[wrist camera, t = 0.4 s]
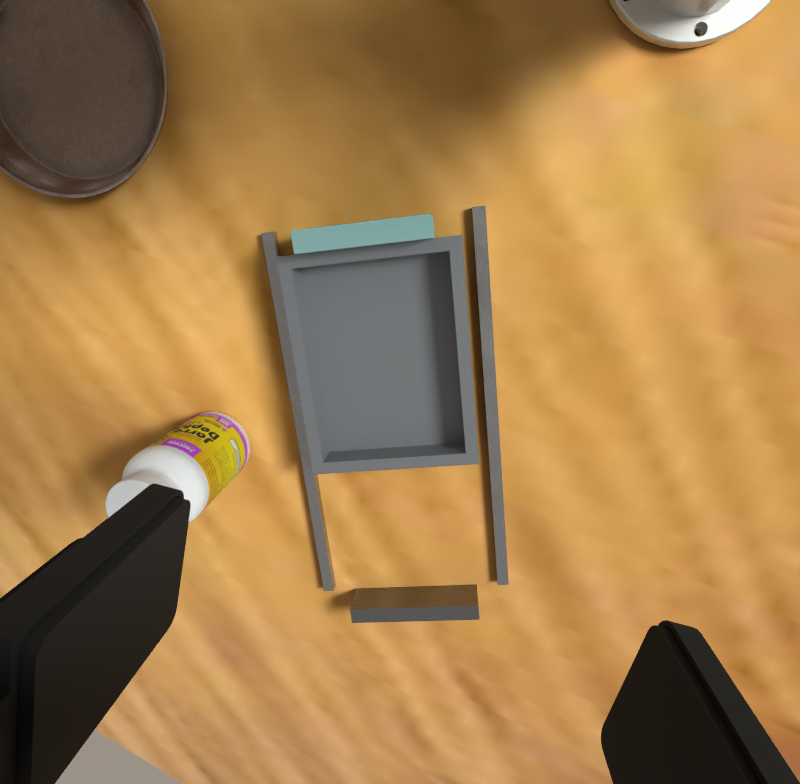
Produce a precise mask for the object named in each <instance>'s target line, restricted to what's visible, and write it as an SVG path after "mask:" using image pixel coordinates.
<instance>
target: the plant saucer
mask: <svg viewBox="0 0 800 784" xmlns="http://www.w3.org/2000/svg"><path fill="white" fill-rule="evenodd" d="M167 95H168V76H167V65H166V59H165V53H164V48H163V44H162V40H161V36H160V33H159V30H158V27H157V24H156V21H155V19H154V16H153V14H152V12H151V10H150V8H149V6H148V4H147V2H146V0H0V169H1V170H2V171H3V172H4V173H5V174H7V175H8V176H10V177H11V178H13V179H14V180H15V181H17V182H19V183H21V184H22V185H24V186H26V187H28V188H30V189H33V190H35V191H38V192H41V193H43V194H47V195H51V196H56V197H64V198H81V197H88V196H93V195H97V194H100V193H103V192H105V191H108V190H110V189H112V188H114V187H116V186H118V185H119V184H121V183H122V182H124V181H125V180H126V179H127V178H129V177H130V176H131V175H132V174H133V173H134V172H135V171H136V170H137V169H138V168H139V167H140V166H141V165H142V164H143V162H144V161H145V160H146V158H147V157H148V156H149V154H150V152H151V151H152V149H153V147H154V145H155V143H156V141H157V139H158V137H159V134H160V131H161V128H162V125H163V121H164V117H165V112H166V106H167Z"/></svg>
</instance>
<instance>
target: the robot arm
mask: <svg viewBox="0 0 800 784" xmlns="http://www.w3.org/2000/svg"><path fill="white" fill-rule="evenodd" d="M771 1H772V0H627V2H625V1H623V0H609V2H610V4H611V6H612V8H613V9H614V11H615V12H616V14H617V16H618V17H619V19H620V20H621V21H622V22H623V23H624V24H625V25H626V26H627V27H628V28H629V29H630V30H631V31H632V32H633V33H635V34H636V35H638V36H639V37H641V38H642V39H644V40H646V41H647V42H650V43H653V44H656V45H659V46H662V47H669V48H678V49H684V48H693V47H700V46H703V45H707V44H710V43H713V42H717V41H719V40H721V39H722V38H724V37H726V36H728V35H730V34H732V33H734V32H736V31H737V30H738V29H740V28H741V27H743V26H744V25H745V24H747V23H748V22H750V21H751V20H752V19H753V18H754V17H755V16H757V15H758V14H759V13H760V12H761V11H762V10H763V9H765V8H766V7H767V6H768V4H769V3H770V2H771ZM694 31H697V32H698V36H696V35H695V34H694ZM190 506H191V504H190V501H189V500H186V499H184V494H183V492H182V491H181V490H178V489H174V488H170V487H167V486H163V485H159V484H151V485H149V486H148V487H147V488H145V489H144V490H143V491H142V492H140V493H139V494H138V495H137V496H135V497H134V498H133V499H131V500H130V501H129V502H128V503H126V504H125V505H124V506H123V507H121V508H120V509H119V510H118V511H116V512H115V513H114V514H113V515H111V516H110V517H109V518H108V519H106V520H105V521H104V522H102V523H101V524H100V525H99V526H97V527H96V528H95V529H94V530H92V531H91V532H90V533H89V534H87V535H86V536H85V537H84V538H80V539H77V540H76V541H74V542H72V543H71V544H69V545H68V546H67V547H66V548H64V549H63V550H62V551H60V552H59V553H58V554H57V555H55V556H54V557H53V558H51V559H50V560H49V561H48V562H46V563H45V564H44V565H43V566H41V567H40V568H39V569H37V570H36V571H35V572H34V573H32V574H31V575H30V576H28V577H27V578H26V579H25V580H23V581H22V582H21V583H19V584H18V585H17V586H16V587H14V588H13V589H12V590H11V591H9V592H8V593H7V594H5V595H4V596H3V597H2V598H0V784H55V783H56V781H57V780H58V778H59V777H60V775H61V774H62V773H63V771H64V770H65V769H66V768H67V766H68V765H69V763H70V762H71V761H72V759H73V758H74V757H75V755H76V754H77V753H78V751H79V750H80V748H81V747H82V745H83V744H84V743H85V742H86V740H87V739H88V738H89V736H90V735H91V733H92V732H93V731H94V729H95V728H96V727H97V725H98V724H99V723H100V721H101V720H102V719H103V717H104V716H105V714H106V713H107V712H108V710H109V709H110V708H111V706H112V705H113V704H114V702H115V701H116V700H117V698H118V697H119V695H120V694H121V693H122V691H123V690H124V689H125V687H126V686H127V685H128V683H129V682H130V680H131V679H132V678H133V676H134V675H135V674H136V672H137V671H138V670H139V668H140V667H141V665H142V664H143V663H144V661H145V660H146V659H147V657H148V656H149V655H150V653H151V652H152V651H153V649H154V648H155V646H156V645H157V644H158V642H159V641H160V640H161V638H162V637H163V636H164V634H165V633H166V631H167V630H168V629H169V627H170V625H171V623H172V621H173V619H174V616H175V613H176V609H177V602H178V595H179V588H180V580H181V573H182V566H183V558H184V551H185V544H186V537H187V529H188V522H189V515H190ZM601 743H602V749H603V752H604V755H605V759H606V762H607V765H608V768H609V771H610V775H611V778H612V781H613V784H800V783H799V781H798V780H797V778H796V777H795V775H794V774H793V772H792V771H791V769H790V768H789V766H788V764H787V763H786V761H785V760H784V758H783V757H782V755H781V754H780V752H779V751H778V749H777V748H776V746H775V745H774V743H773V742H772V740H771V739H770V737H769V736H768V734H767V733H766V731H765V730H764V728H763V727H762V725H761V724H760V722H759V721H758V719H757V717H756V716H755V714H754V713H753V711H752V710H751V708H750V707H749V705H748V704H747V702H746V701H745V699H744V698H743V696H742V695H741V693H740V692H739V690H738V689H737V687H736V686H735V684H734V683H733V681H732V680H731V678H730V677H729V675H728V674H727V672H726V670H725V669H724V667H723V666H722V664H721V663H720V661H719V660H718V658H717V657H716V655H715V654H714V652H713V651H712V649H711V648H710V646H709V645H708V643H707V642H706V640H705V639H704V637H703V636H702V634H701V633H700V632H699V631H698V630H697V629H695V628H693V627H689V626H686V625H682V624H678V623H674V622H671V621H667V620H666V621H662V622H661V623H659V625H658V626H656V625H655V626H652V627H650V629H649V630H648V632H647V634H646V636H645V639H644V641H643V643H642V645H641V647H640V649H639V651H638V653H637V655H636V657H635V660H634V662H633V664H632V666H631V668H630V670H629V672H628V674H627V676H626V678H625V681H624V683H623V685H622V687H621V689H620V691H619V693H618V695H617V697H616V699H615V701H614V704H613V706H612V708H611V710H610V712H609V714H608V716H607V718H606V720H605V722H604V725H603V728H602V732H601Z"/></svg>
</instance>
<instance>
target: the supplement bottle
mask: <svg viewBox="0 0 800 784" xmlns="http://www.w3.org/2000/svg"><path fill="white" fill-rule="evenodd" d="M249 454H250V443H249V439H248V436H247V434H246V432H245V430H244V429H243V427H242V426H241V425H240V424H239V423H238V422H237V421H236V420H235V419H233V418H232V417H230V416H228V415H226V414H223V413H219V412H205V413H201V414H198V415H196V416H194V417H192V418H191V419H189V420H187V421H186V422H185V423H183V424H181V425H180V426H178V427H177V428H175V429H174V430H172V431H170V432H169V433H168V434H166V435H165V436H163V437H161V438H160V439H158V440H157V441H155V442H154V443H152V444H151V445H149V446H148V447H146V448H144V449H143V450H141V451H140V452H138V453H137V454H136V455H134V456H133V457H132V458H131V459H130V461H129V462H128V463H127V465H126V466H125V469H124V471H123V474H122V480H121V481H120V482H118V483H117V484H115V485H114V486H113V487H112V488H111V489H110V491H109V492H108V494H107V497H106V503H105V506H106V512H107V515H108V517H110V516H111V515H113V514H114V513H115V512H116V511H118V510H119V509H120V508H121V507H123V506H124V505H125V504H126V503H128V502H129V501H130V500H131V499H133V498H134V497H135V496H137V495H138V494H139V493H140V492H142V491H143V490H144V489H145V488H147V487H148V486H149V485H151V484H159V485H163V486H167V487H170V488H174V489H178V490H181V491H182V492H183V494H184V499H186V500H189V501H190V504H191V506H190V515H189V522H191V521H192V520H194V519H195V518H196V517H197V516H198V515H199V514H200V513H201V512H202V511H203V510H204V509H205V508H206V507H207V506H208V505H209V504H210V502H211V501H212V500H213V499H214V498H215V497H216V496H217V495H218V494H219V493H220V492H221V491H222V490H223V489H224V488H225V487H226V486H227V485H228V484H229V483H230V482H231V481H232V480H233V479H234V477H235V476H236V475H237V474H238V473H239V472H240V471H241V470H242V469H243V468H244V466H245V465H246V463H247V461H248V458H249ZM189 522H188V523H189Z"/></svg>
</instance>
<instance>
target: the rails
mask: <svg viewBox="0 0 800 784" xmlns="http://www.w3.org/2000/svg"><path fill="white" fill-rule="evenodd" d="M472 220H473V234H474V249H475V264H476V278H477V293H478V308H479V322H480V337H481V352H482V366H483V381H484V396H485V410H486V425H487V440H488V455H489V469H490V484H491V499H492V513H493V528H494V543H495V557H496V572H497V583H498V585H508V569H507V552H506V536H505V520H504V503H503V487H502V471H501V454H500V438H499V422H498V406H497V389H496V373H495V357H494V340H493V324H492V308H491V291H490V275H489V259H488V242H487V226H486V210H485V206H479V207H472ZM261 235H262V241H263V246H264V252H265V258H266V263H267V269H268V275H269V280H270V286H271V292H272V298H273V303H274V309H275V315H276V320H277V326H278V332H279V337H280V343H281V349H282V355H283V360H284V366H285V372H286V377H287V383H288V389H289V394H290V400H291V406H292V412H293V417H294V423H295V429H296V434H297V440H298V446H299V451H300V457H301V463H302V469H303V474H304V480H305V486H306V491H307V497H308V503H309V508H310V514H311V520H312V526H313V531H314V537H315V543H316V548H317V554H318V560H319V565H320V571H321V577H322V583H323V588H324V591H334V588H335V579H334V573H333V567H332V561H331V555H330V549H329V543H328V537H327V531H326V526H325V520H324V514H323V508H322V502H321V496H320V490H319V484H318V478H317V474H313V470H312V464H311V458H310V452H309V446H308V441H307V435H306V429H305V423H304V417H303V411H302V405H301V399H300V393H299V388H298V382H297V376H296V370H295V364H294V358H293V352H292V346H291V340H290V335H289V329H288V323H287V317H286V311H285V305H284V299H283V293H282V287H281V282H280V276H279V270H278V264H277V258H276V257H278V256H280V251H279V245H278V239H277V233H276V232H268V233H261ZM350 612H351V618H352V623H365V622H403V621H442V620H479V609H478V597H477V585H455V586H426V587H397V588H368V589H356V590H355V593H354V597H353V601H352V604H351V608H350Z"/></svg>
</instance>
